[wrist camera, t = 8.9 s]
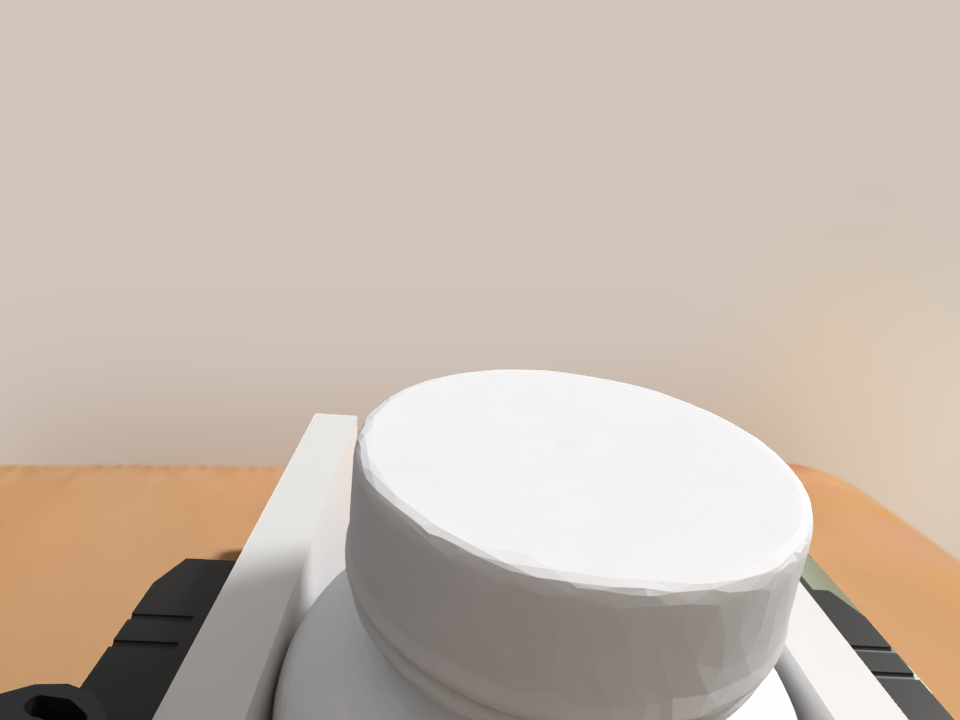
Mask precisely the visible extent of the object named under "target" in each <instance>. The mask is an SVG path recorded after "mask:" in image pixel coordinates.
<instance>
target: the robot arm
mask: <svg viewBox="0 0 960 720" xmlns="http://www.w3.org/2000/svg"><path fill="white" fill-rule="evenodd" d="M356 440H357V416H348V415H333V414H319V413H316V414H315V415H314V417H313V419H312V421H311V423H310V425H309V426H308V428H307V430H306V432H305V434H304V436H303V438H302V440H301V442H300V444H299V445H298V447H297V449H296V451H295V453H294V455H293V457H292V458H291V460H290V462H289V464H288V466H287V468H286V470H285V471H284V473H283V475H282V477H281V479H280V481H279V483H278V485H277V486H276V488H275V490H274V492H273V494H272V496H271V498H270V500H269V501H268V503H267V505H266V507H265V509H264V511H263V513H262V515H261V516H260V518H259V520H258V522H257V524H256V526H255V528H254V530H253V531H252V533H251V535H250V537H249V539H248V541H247V543H246V545H245V546H244V548H243V550H242V552H241V554H240V556H239V558H238V560H237V561H224V560H205V559H185V560H184V561H182V562H181V563H180V564H178V565H177V566H176V567H174V568H173V569H171V570H170V571H169V572H167V573H166V574H165V575H163V576H162V577H161V578H159V579H158V580H157V581H155V582H154V583H153V584H152V585H151V587H150V588H149V590H148V591H147V593H146V594H145V595H144V597H143V598H142V600H141V601H140V603H139V604H138V605H137V607H136V608H135V610H134V611H133V613H132V617H131V619H130V620H127V621H126V623H125V624H124V626H123V627H122V628H121V630H120V631H119V633H118V634H117V636H116V637H115V638H114V642H113V645H112V647H110V646H109V647H108V648H107V650H106V651H105V653H104V654H103V656H102V657H101V658H100V660H99V661H98V663H97V664H96V666H95V667H94V669H93V670H92V671H91V673H90V674H89V676H88V677H87V679H86V680H85V681H84V683H83V684H82V686H81V687H80V688H78V687H75V686H72V685H69V684H34V685H31V686H27V687H23V688H20V689H16V690H13V691H9V692H5V693H2V694H0V720H272V715H273V706H274V697H275V692H276V688H277V683H278V679H279V675H280V672H281V668H282V664H283V662H284V659H285V656H286V653H287V650H288V648H289V646H290V644H291V641H292V639H293V637H294V635H295V633H296V631H297V629H298V627H299V625H300V623H301V622H302V620H303V618H304V616H305V615H306V613H307V612H308V610H309V609H310V607H311V606H312V605H313V603H314V602H315V600H316V599H317V598H318V596H319V595H320V594H321V593H322V592H323V591H324V589H325V588H326V587H327V586H328V585H329V584H330V583H331V582H332V581H333V579H334V578H335V577H336V576H337V575H338V574H340V573H341V572H342V571H343V570H344V569H345V568H346V565H345V542H346V533H347V529H348V525H349V519H350V500H351V485H352V470H353V455H354V449H355V444H356ZM774 669H775V670H776V672H777V674H778V676H779V678H780V680H781V682H782V684H783V685H784V687H785V689H786V692H787V694H788V696H789V698H790V700H791V702H792V705H793V707H794V709H795V712H796V715H797V718H798V720H954V719H953V718H952V717H951V715H950V714H949V713H948V712H947V711H946V710H945V709H944V707H943V706H942V705H941V704H940V703H939V702H938V700H937V699H936V698H935V697H934V696H933V695H932V694H931V692H930V691H929V690H928V689H927V688H926V687H925V685H924V684H923V683H922V682H921V681H920V680H915V678H914V673H913V672H912V670H911V669H910V668H909V667H908V666H907V665H906V664H905V662H904V661H903V660H902V659H901V658H900V657H899V655H898V654H897V653H892V651H891V646H890V645H889V644H888V643H887V642H886V640H885V639H884V638H883V637H882V636H881V635H880V634H879V632H878V631H877V630H876V629H875V628H874V627H873V625H872V624H871V623H870V622H869V621H868V620H867V619H866V617H865V616H863V615H862V614H861V613H859V612H858V611H857V610H855V609H854V608H852V607H851V606H850V605H848V604H847V603H846V602H844V601H843V600H841V599H840V598H839V597H837V596H836V595H835V594H833V593H832V592H831V591H829V590H813V589H805V587H804V586H803V585H802V584H801V582H800V581H799V584H798V588H797V591H796V595H795V599H794V603H793V606H792V610H791V613H790V617H789V626H788V634H787V637H786V641H785V645H784V648H783V650H782V653H781V655H780V657H779V659H778V661H777V663H776V665H775V666H774Z"/></svg>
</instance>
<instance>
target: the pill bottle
mask: <svg viewBox="0 0 960 720" xmlns="http://www.w3.org/2000/svg"><path fill="white" fill-rule="evenodd" d="M812 531H813V514H812V509H811V504H810V500H809V496H808V494H807V492H806V490H805V488H804V486H803V484H802V483H801V481H800V480H799V479H798V477H797V476H796V475H795V474H794V472H793V471H792V470H791V469H790V467H789V466H788V465H787V464H786V463H785V462H784V461H783V460H782V459H781V458H780V457H779V456H778V455H777V454H776V453H775V452H773V451H772V450H771V449H770V448H768V447H767V446H766V445H765V444H763V443H762V442H761V441H760V440H758V439H757V438H755V437H754V436H752V435H750V434H749V433H747V432H746V431H744V430H742V429H741V428H739V427H737V426H736V425H734V424H732V423H730V422H729V421H726V420H724V419H723V418H721V417H718V416H716V415H714V414H712V413H710V412H708V411H706V410H703V409H701V408H698V407H696V406H694V405H692V404H689V403H687V402H683V401H681V400H678V399H676V398H673V397H670V396H668V395H665V394H662V393H659V392H656V391H654V390H650V389H646V388H642V387H638V386H634V385H630V384H626V383H622V382H617V381H611V380H606V379H601V378H594V377H589V376H582V375H576V374H570V373H562V372H554V371H543V370H488V371H477V372H467V373H461V374H454V375H449V376H444V377H440V378H437V379H432V380H428V381H424V382H421V383H419V384H416V385H414V386H411V387H409V388H406V389H404V390H402V391H400V392H398V393H396V394H394V395H393V396H391V397H389V398H388V399H386V400H385V401H383V402H382V403H381V404H380V405H379V406H377V407H376V408H375V409H374V410H373V411H372V412H371V413H370V414H369V416H368V417H367V418H366V419H365V421H364V423H363V425H362V427H361V429H360V431H359V434H358V437H357V440H356V444H355V449H354V455H353V470H352V485H351V500H350V519H349V525H348V529H347V533H346V542H345V565H346V568H345V569H344V570H343V571H342V572H341V573H340V574H338V575H337V576H336V577H335V578H334V579H333V581H332V582H331V583H330V584H329V585H328V586H327V587H326V588H325V589H324V591H323V592H322V593H321V594H320V595H319V596H318V598H317V599H316V600H315V602H314V603H313V605H312V606H311V607H310V609H309V610H308V612H307V613H306V615H305V616H304V618H303V620H302V622H301V623H300V625H299V627H298V629H297V631H296V633H295V635H294V637H293V639H292V641H291V644H290V646H289V648H288V650H287V653H286V656H285V659H284V662H283V664H282V668H281V672H280V675H279V679H278V683H277V688H276V692H275V697H274V706H273V715H272V720H798V718H797V715H796V712H795V709H794V707H793V705H792V702H791V700H790V698H789V696H788V694H787V692H786V689H785V687H784V685H783V684H782V682H781V680H780V678H779V676H778V674H777V672H776V670H775V669H774V666H775V665H776V663H777V661H778V659H779V657H780V655H781V653H782V650H783V648H784V645H785V641H786V637H787V634H788V626H789V617H790V613H791V610H792V606H793V603H794V599H795V595H796V591H797V588H798V584H799V580H800V577H801V574H802V570H803V567H804V564H805V561H806V557H807V554H808V551H809V547H810V543H811V538H812Z"/></svg>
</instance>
